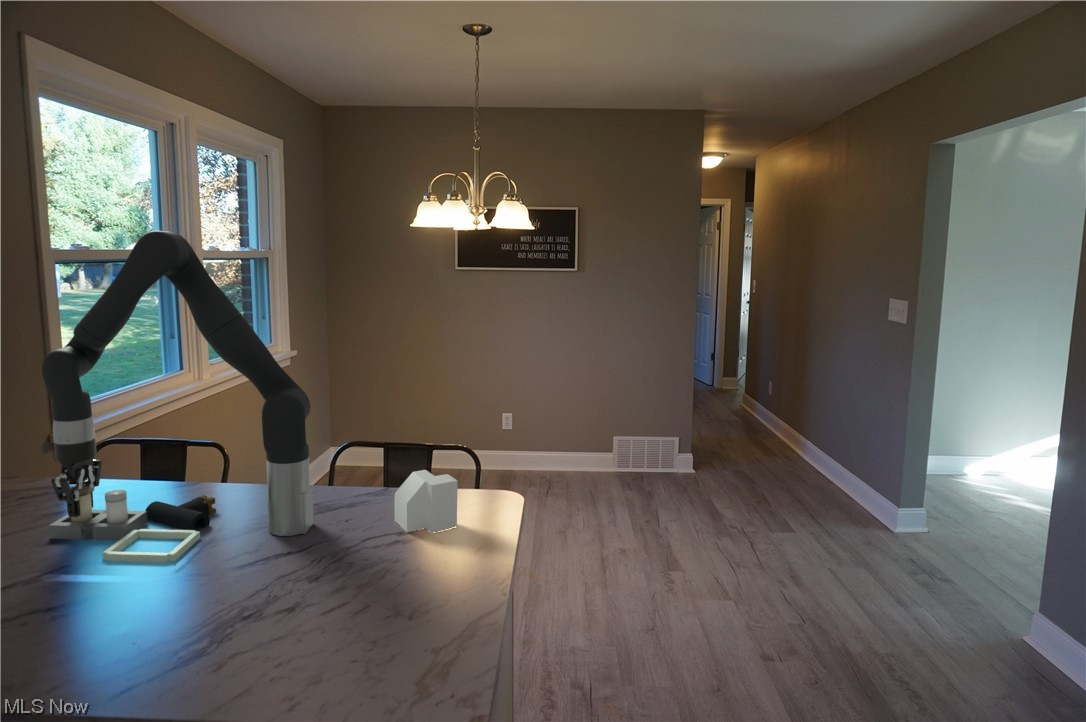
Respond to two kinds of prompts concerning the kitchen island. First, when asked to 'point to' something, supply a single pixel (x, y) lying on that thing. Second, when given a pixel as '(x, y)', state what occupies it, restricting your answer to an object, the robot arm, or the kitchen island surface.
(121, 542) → the parts tray
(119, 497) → the cylinder
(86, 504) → the cylinder
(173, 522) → the pipe connector
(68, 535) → the fuse block
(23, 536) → the kitchen island surface
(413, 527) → the pale house-shaped block
